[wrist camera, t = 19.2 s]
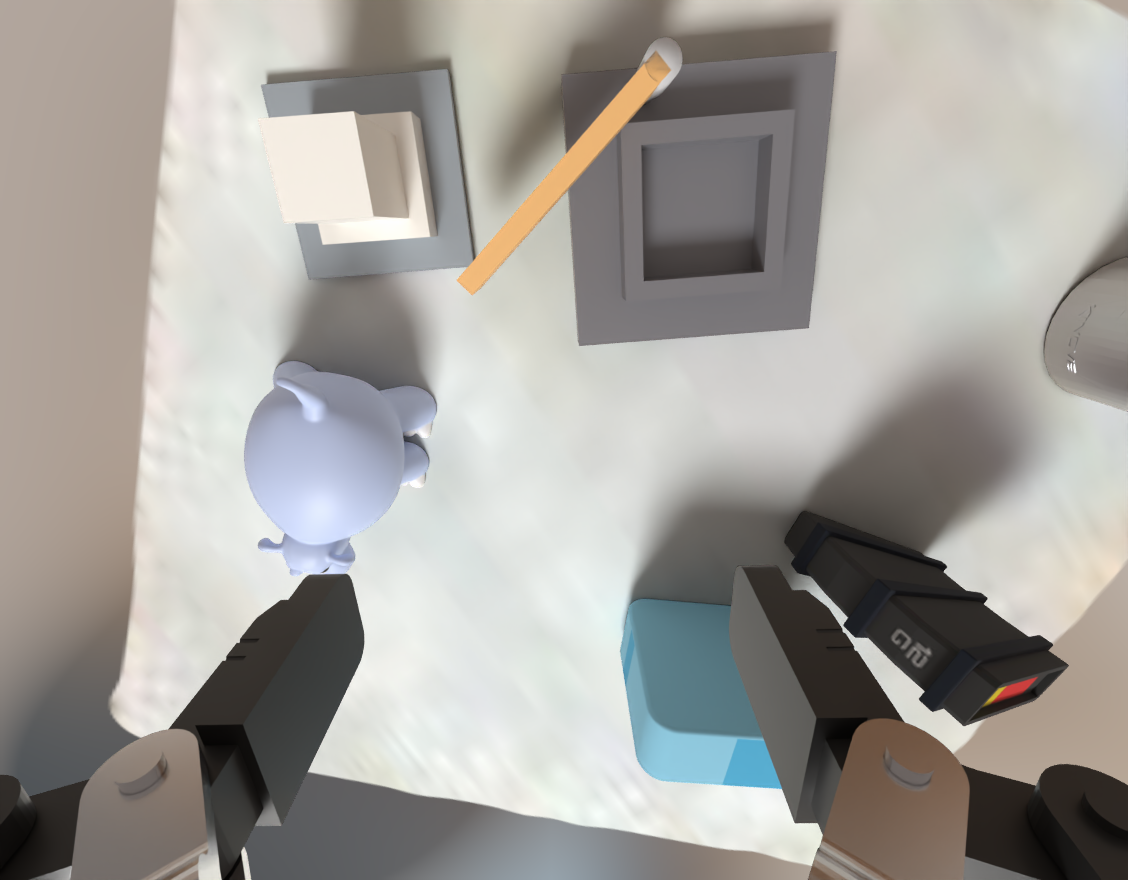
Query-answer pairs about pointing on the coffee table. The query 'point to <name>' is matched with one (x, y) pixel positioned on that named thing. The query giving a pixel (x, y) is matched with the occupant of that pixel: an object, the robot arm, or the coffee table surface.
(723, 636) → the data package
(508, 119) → the coffee table surface
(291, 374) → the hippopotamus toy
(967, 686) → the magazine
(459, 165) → the mat
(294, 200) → the plug
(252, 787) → the robot arm
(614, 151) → the socket block
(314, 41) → the coffee table surface
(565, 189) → the orange rod with knob
